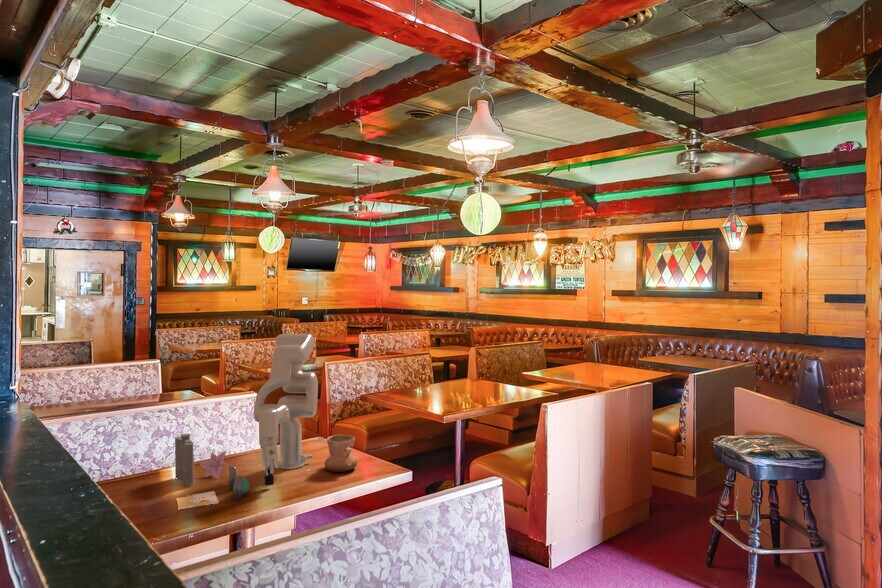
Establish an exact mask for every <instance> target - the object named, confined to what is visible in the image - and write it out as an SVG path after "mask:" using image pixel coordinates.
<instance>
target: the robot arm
mask: <svg viewBox="0 0 882 588" xmlns="http://www.w3.org/2000/svg"><path fill="white" fill-rule="evenodd" d="M275 346H276V347H275V348H274V349H273V352H272V353H273V354H272V358H271V359H272V360H271V366H270V372H269V379H268V380H267V381H266V382H265V383H264V384H263V385H262V387H261V388H260V389H259V391H258V392H257V394H256V396H255V401H254V406H253V419H254V421H256V423H257V422H258V445H259V446H261V465H262V467H263V468H264V485H265V486H266V487H267V486H273V485H274V484H275V482H274V479H275V478H274V475H275V473H274V471H275V469H277V470H278V469H281V470H295V469H298V468H299V469H300V468H302V467H304V466H305V465H306V460H312V459H313V454H308V453H306V454H304V453H302V452H303V450H302V447H303V446H302V440H303V439H302V438H303V437H302V436H303V435H302V425H301V422H300V420H299V419H298V418H312V417H314V416H315V415H316V414H317V410H318V396H319V395H318V394H319V393H318V392H319V380H318V376H317V374H316V373H315V372H313V371H303V364H305V363H306V362H307V361H308V359H309V358H310V356H311V353H313V350H314V347H315V338H314V336H313V335H312V334H311V333H282V334H281V333H280V334H278V335H277V336H276V338H275ZM281 387H282V390H283V392H285V393H289V394H305V395H285V396H282V397H281V398H279V400H278V401H277V404H275V403H273V404H271V403H268V404H265V400H266V398H267V397H268V395H269V394H270V393H272V392H273V391H275V390H277V389H279V388H281ZM277 444H279V453H278V446H277ZM278 454H279V455H278ZM274 468H275V469H274Z"/></svg>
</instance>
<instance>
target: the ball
mask: <svg viewBox="0 0 882 588" xmlns="http://www.w3.org/2000/svg"><path fill="white" fill-rule="evenodd" d="M233 489H234V490H233V491H234V492H235V486H234V485H233ZM249 489H250V482H249V481H248V480H247V479H246V478H242V495H244V494H247V492H248V491H249Z"/></svg>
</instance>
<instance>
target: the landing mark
mask: <svg viewBox="0 0 882 588" xmlns="http://www.w3.org/2000/svg"><path fill="white" fill-rule="evenodd" d="M189 495H190V496H189ZM189 495H187V496H188V497H194V499H193V498H192V499H193V500H192V499H191V500H190V499H189V500H190V502H193V503H196V504H197V505H199V503H200V501H202V500H209V501H210V503H211V504H213V505H217V504H218V503H220V502H219V499H218V497H217V495H216V492H215V490H213V491H212V490H211V491H207V492H202V493H201V492H200V493H195V494H189ZM191 495H192V496H191ZM193 495H194V496H193ZM202 497H203V498H202ZM204 497H205V498H204ZM195 498H196V499H195ZM199 498H200V499H199ZM208 503H209V502H208ZM210 503H209V505H207V502H206V505H207V506H211V505H210ZM218 505H219V504H218Z"/></svg>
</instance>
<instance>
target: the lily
mask: <svg viewBox="0 0 882 588" xmlns="http://www.w3.org/2000/svg"><path fill="white" fill-rule="evenodd" d="M226 455H227V450H224V451H222V452H221V453H219V454H217V455H216V454H215V453H214V452H213V451H211V453H210V458H209V459H208V460H205V461H202V462H200V463H199V466H200V467H201V468H203V469H205V470H206V471H205V472H206V473H205V475H204V478H205V477H206V478H207V477H210V476H211V475H213V476H214V477H215V478H216V479H217V480H219V479H220V475H221V471H222V469H225V468H227V467H230V464H228V463H227V462H226V461H224V459H225V456H226Z"/></svg>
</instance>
